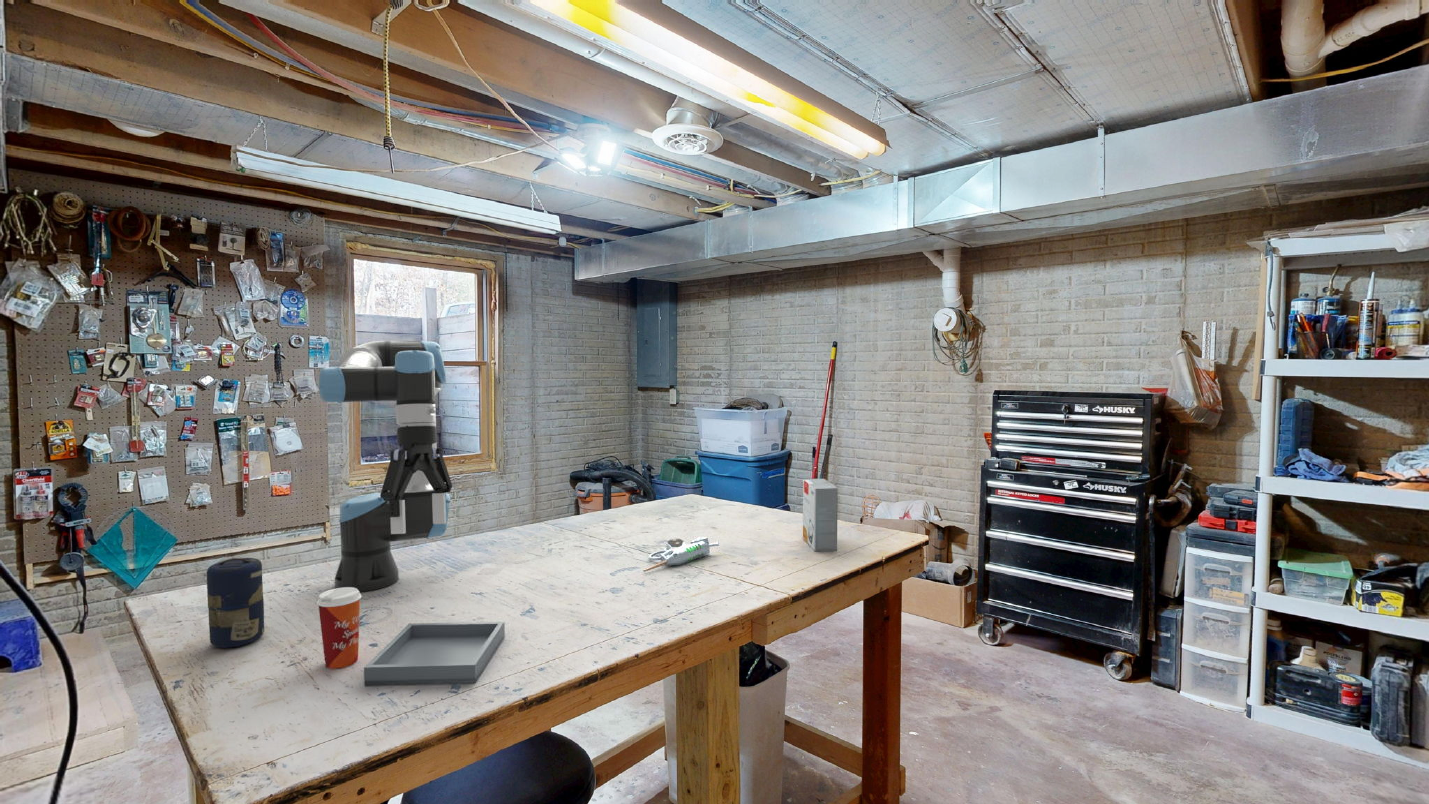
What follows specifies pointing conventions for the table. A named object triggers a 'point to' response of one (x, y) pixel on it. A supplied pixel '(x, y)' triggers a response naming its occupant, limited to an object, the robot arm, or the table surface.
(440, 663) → the tray
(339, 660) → the paper cup
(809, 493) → the hard drive box
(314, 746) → the table surface
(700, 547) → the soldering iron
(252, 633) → the canister
